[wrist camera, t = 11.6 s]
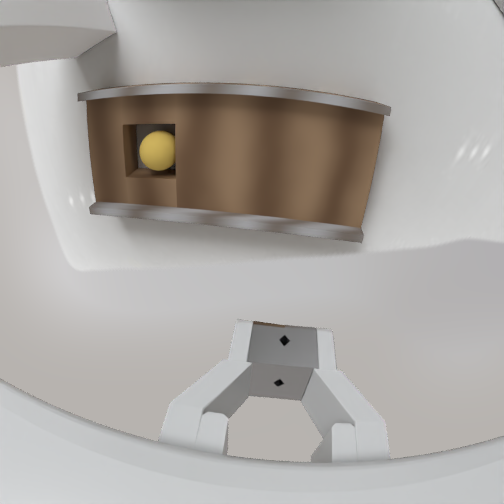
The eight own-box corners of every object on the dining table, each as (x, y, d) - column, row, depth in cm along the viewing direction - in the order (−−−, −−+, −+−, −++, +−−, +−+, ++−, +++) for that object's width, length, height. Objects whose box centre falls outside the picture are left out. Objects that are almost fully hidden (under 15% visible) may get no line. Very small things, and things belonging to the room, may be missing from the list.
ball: (174, 134, 25) (132, 136, 25) (175, 176, 28) (135, 176, 27) (183, 126, 29) (145, 127, 29) (183, 163, 31) (147, 164, 31)
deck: (376, 102, 25) (391, 107, 21) (353, 221, 32) (361, 242, 28) (101, 88, 27) (77, 93, 23) (109, 197, 34) (90, 214, 30)
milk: (104, -9, 20) (-67, -31, 2) (117, 32, 23) (-70, 35, 5) (63, 20, 22) (-103, 33, 3) (75, 59, 25) (-100, 98, 6)
